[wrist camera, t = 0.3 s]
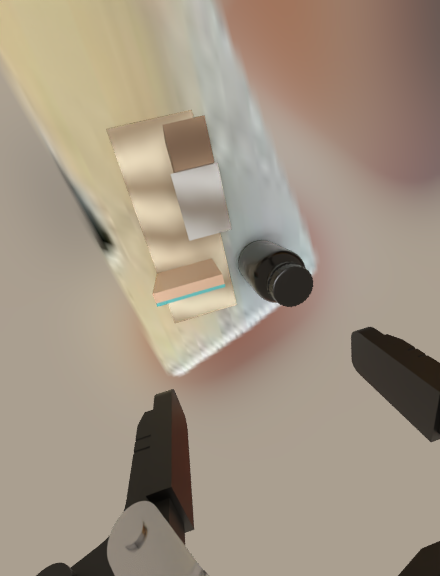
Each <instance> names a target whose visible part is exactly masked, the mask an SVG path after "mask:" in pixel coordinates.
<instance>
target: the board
mask: <svg viewBox="0 0 440 576" xmlns="http://www.w3.org/2000/svg"><path fill="white" fill-rule="evenodd" d="M190 118H194V117H193V113H192V110H189V111H184V112H180V113H175V114H171V115H166V116H162V117H157V118H153V119H148V120H144V121H140V122H135V123H131V124H126V125H122V126H117V127H113V128H108V129H106V130H107V133H108V136H109V139H110V141H111V144H112V147H113V150H114V153H115V155H116V158H117V161H118V164H119V167H120V170H121V172H122V175H123V178H124V181H125V184H126V187H127V189H128V192H129V195H130V198H131V201H132V204H133V206H134V209H135V212H136V215H137V218H138V221H139V223H140V226H141V229H142V232H143V235H144V238H145V240H146V243H147V246H148V249H149V252H150V255H151V257H152V260H153V263H154V266H155V269H156V271H157V273H161V272H164V271H168V270H171V269H175V268H178V267H182V266H186V265H189V264H193V263H196V262H200V261H204V260H207V259H211V258H212V259H213V261H214V262H215V264H216V265H217V267H218V268H219V270H220V271H221V273H222V275H223V279H224V283H225V287H224V288H220V289H217V290H213V291H210V292H206V293H203V294H199V295H196V296H193V297H189V298H186V299H182V300H179V301H175V302H172V303H168V305H169V308H170V311H171V314H172V317H173V320H174V322H175V323H177V322H181V321H184V320H188V319H191V318H194V317H198V316H201V315H204V314H208V313H211V312H214V311H218V310H221V309H224V308H228V307H231V306H235V305H237V304H236V299H235V295H234V291H233V286H232V282H231V278H230V273H229V269H228V265H227V260H226V256H225V252H224V247H223V243H222V239H221V234H220V233H217V234H213V235H209V236H206V237H202V238H198V239H194V240H191V241H189V238H188V234H187V231H186V227H185V224H184V220H183V217H182V213H181V210H180V206H179V203H178V199H177V196H176V192H175V189H174V185H173V181H172V178H171V174H173V169H172V165H171V162H170V158H169V155H168V151H167V147H166V144H165V139H164V132H163V125H164V124H168V123H173V122H177V121H181V120H186V119H190Z"/></svg>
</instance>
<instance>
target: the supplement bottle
mask: <svg viewBox="0 0 440 576" xmlns="http://www.w3.org/2000/svg"><path fill="white" fill-rule="evenodd" d="M239 270H240V272H241V274H242V276H243V277H244V279H245V280H246V281H247V282H248V283H249V284H250V286H251V287H252V288H253V289H254V290H255V291H256V293H257V294H258V295H259V296H260V297H261V298H263V299H264V300H266V301H269V302H273V303H279V304H280V305H283V306H287V307H289V306H290V307H292V306H296V305H299V304H300V303H303V302H304V301H305V300H306V299H307V298H308V297H309V294H310V293H311V291H312V287H313V280H312V279H313V278H312V277H311V274H310V273H309V271H308V270H306V268H305V265H304V262H303V261H302V259H301V258H300V257H299V256H298V255H297V254H295V253H294V252H292V251H290V250H288V249H285V248H283V247H281V246H279V245H276V244H274V243H272V242H269V241H265V240H259V241H255V242H252V243H250V244H249V245H247V246H246V247H245V248H244V250H243V251H242V253H241V255H240V258H239Z"/></svg>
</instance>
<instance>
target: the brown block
mask: <svg viewBox="0 0 440 576" xmlns="http://www.w3.org/2000/svg"><path fill="white" fill-rule="evenodd" d="M163 132H164V139H165V144H166V147H167V151H168V155H169V158H170V162H171V165H172V169H173V174H171V178H172V181H173V185H174V189H175V192H176V196H177V199H178V203H179V206H180V210H181V213H182V217H183V220H184V224H185V227H186V231H187V234H188V238H189V241H191V240H194V239H198V238H202V237H206V236H209V235H213V234H217V233H220V232H224V231H228V230H232V229H231V224H230V219H229V214H228V210H227V205H226V200H225V195H224V191H223V186H222V181H221V177H220V172H219V167H218V163H214V158H213V153H212V149H211V144H210V139H209V135H208V130H207V126H206V121H205V116H199V117H195V118H190V119H186V120H181V121H177V122H173V123H168V124H164V125H163ZM213 163H214V164H213Z"/></svg>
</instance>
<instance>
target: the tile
mask: <svg viewBox="0 0 440 576" xmlns="http://www.w3.org/2000/svg"><path fill="white" fill-rule="evenodd" d="M224 287H225V283H224V279H223V275H222V273H221V271H220V270H219V268H218V267H217V265H216V264H215V262H214V261H213V259H212V258H211V259H207V260H204V261H200V262H196V263H193V264H189V265H186V266H182V267H178V268H175V269H171V270H168V271H164V272H161V273H157V276H156V281H155V285H154V290H153V296H154V299H155V302H156V304H157V307H158V306H162V305H165V304H168V303H172V302H175V301H179V300H182V299H186V298H189V297H193V296H196V295H199V294H203V293H206V292H210V291H213V290H217V289H220V288H224Z"/></svg>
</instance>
